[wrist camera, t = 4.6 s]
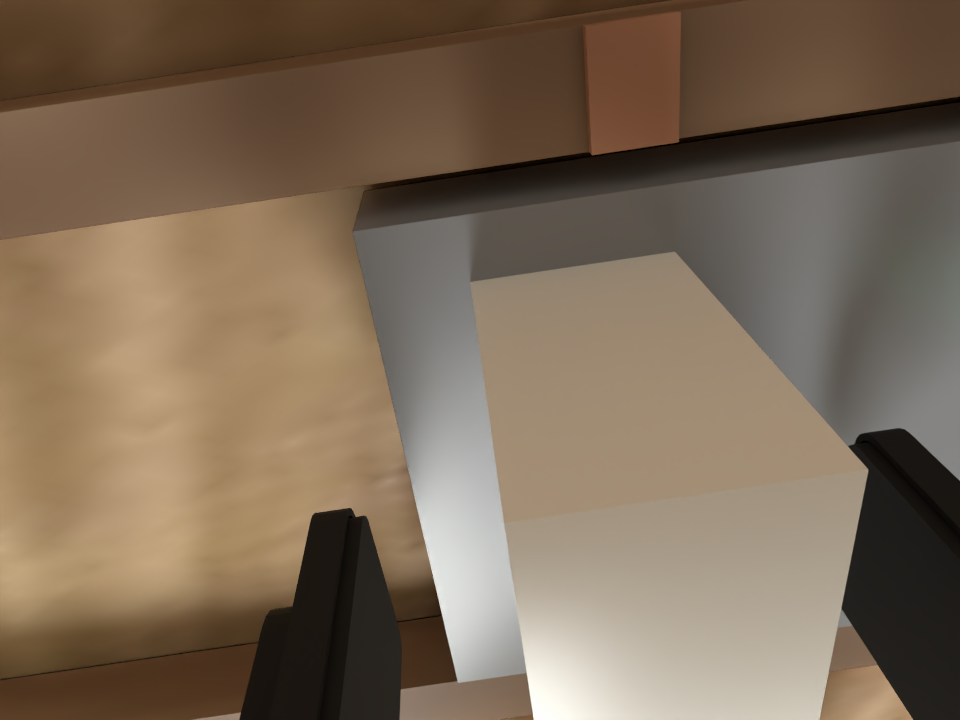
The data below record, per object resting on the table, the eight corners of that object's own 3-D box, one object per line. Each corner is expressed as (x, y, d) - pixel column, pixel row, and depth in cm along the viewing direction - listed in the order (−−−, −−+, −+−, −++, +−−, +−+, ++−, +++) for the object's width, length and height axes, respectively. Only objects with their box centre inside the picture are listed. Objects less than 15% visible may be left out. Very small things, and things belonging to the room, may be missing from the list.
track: (1432, 515, 17) (1545, 576, 15) (-38, 729, 17) (-90, 813, 16) (1971, -196, 10) (2290, -231, 8) (-512, 178, 10) (-701, 219, 9)
